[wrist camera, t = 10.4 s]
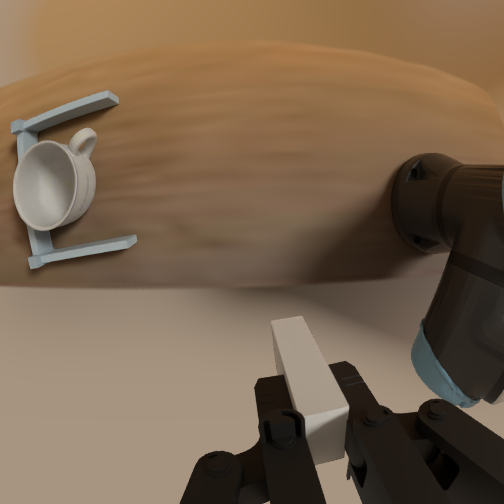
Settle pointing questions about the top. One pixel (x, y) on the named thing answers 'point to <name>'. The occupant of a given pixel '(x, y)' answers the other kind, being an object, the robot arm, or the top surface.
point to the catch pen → (29, 137)
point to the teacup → (55, 182)
